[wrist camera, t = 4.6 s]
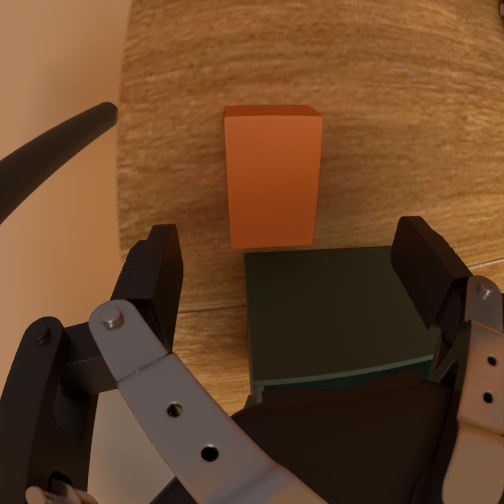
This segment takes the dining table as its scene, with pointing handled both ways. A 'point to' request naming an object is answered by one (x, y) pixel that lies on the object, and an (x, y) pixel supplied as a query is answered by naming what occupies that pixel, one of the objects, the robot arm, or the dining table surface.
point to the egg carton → (502, 10)
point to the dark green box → (330, 320)
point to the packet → (272, 174)
